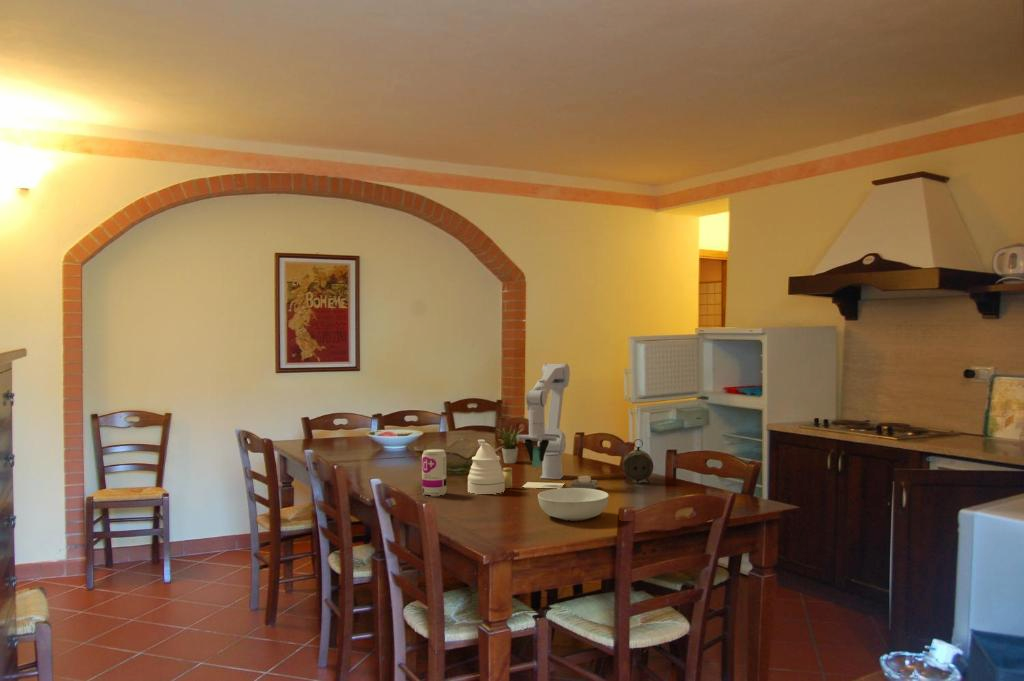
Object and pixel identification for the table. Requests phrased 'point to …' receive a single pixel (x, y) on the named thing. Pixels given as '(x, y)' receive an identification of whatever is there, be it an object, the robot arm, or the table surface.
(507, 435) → the house plant
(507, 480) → the ball
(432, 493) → the supplement can
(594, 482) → the button box
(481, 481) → the honey pot
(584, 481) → the button
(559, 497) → the serving bowl
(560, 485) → the paper sheet
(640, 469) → the alarm clock
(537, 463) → the teal marker
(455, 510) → the table surface
